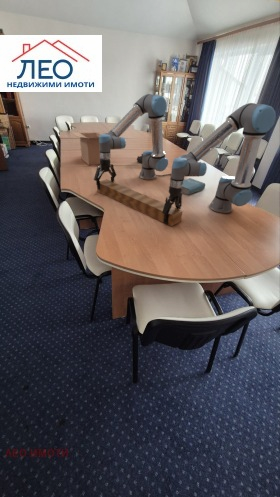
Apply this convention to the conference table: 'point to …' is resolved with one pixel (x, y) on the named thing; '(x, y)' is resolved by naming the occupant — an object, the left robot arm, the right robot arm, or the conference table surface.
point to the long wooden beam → (139, 201)
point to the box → (89, 146)
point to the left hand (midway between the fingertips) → (105, 187)
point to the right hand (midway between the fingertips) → (170, 220)
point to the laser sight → (139, 158)
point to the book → (192, 186)
